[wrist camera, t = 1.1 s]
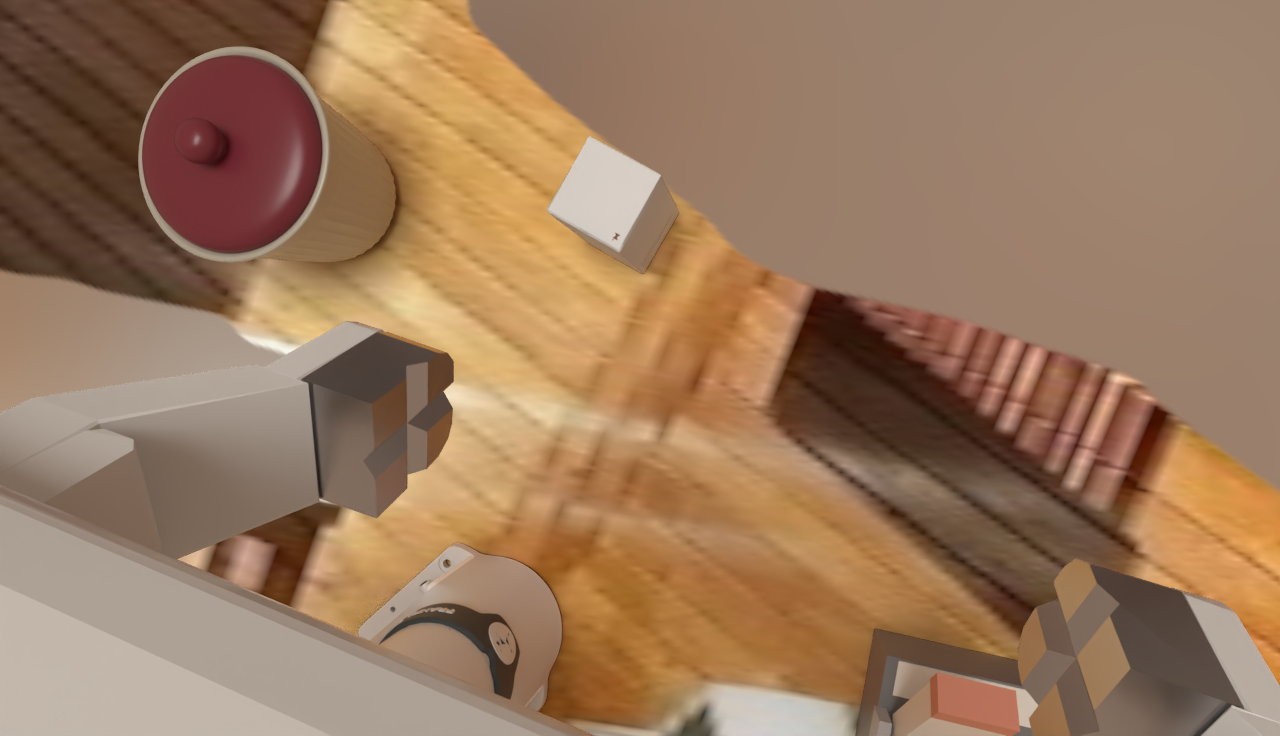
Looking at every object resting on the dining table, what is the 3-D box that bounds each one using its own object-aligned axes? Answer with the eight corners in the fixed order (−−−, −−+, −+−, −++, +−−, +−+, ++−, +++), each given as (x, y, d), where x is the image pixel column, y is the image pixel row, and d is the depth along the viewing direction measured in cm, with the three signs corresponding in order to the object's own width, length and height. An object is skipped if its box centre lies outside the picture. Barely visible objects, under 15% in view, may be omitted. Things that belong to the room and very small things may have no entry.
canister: (274, 121, 74) (86, 25, 53) (427, 114, 71) (292, 9, 50) (270, 285, 74) (82, 253, 53) (423, 285, 71) (287, 251, 50)
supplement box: (681, 211, 66) (665, 175, 54) (643, 276, 67) (618, 255, 55) (619, 175, 68) (588, 132, 55) (582, 240, 68) (543, 211, 56)
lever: (950, 767, 55) (1020, 731, 45) (885, 751, 56) (938, 712, 46) (948, 733, 57) (1015, 690, 46) (885, 718, 58) (937, 672, 47)
